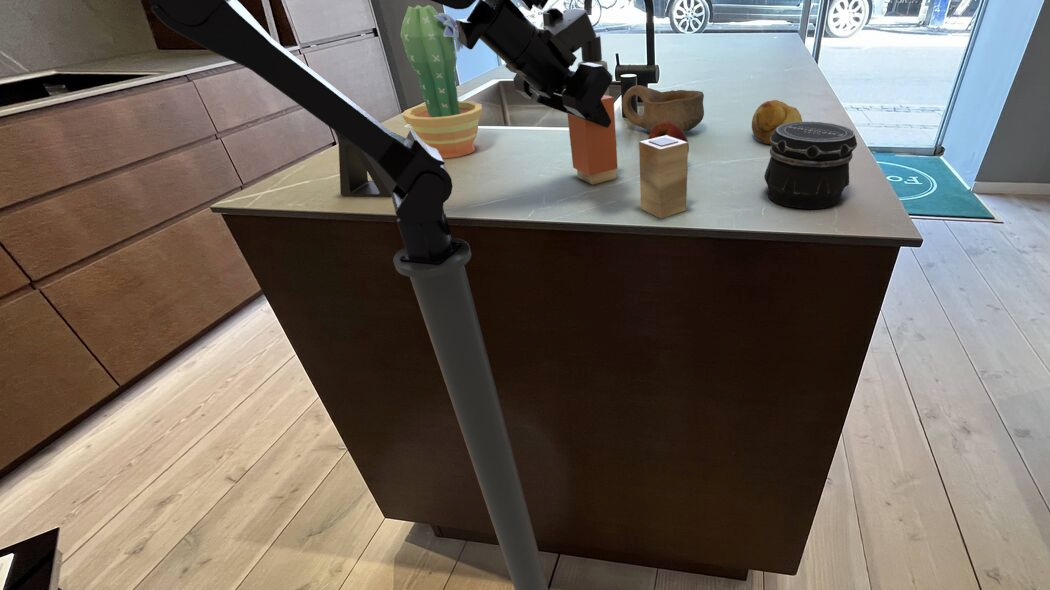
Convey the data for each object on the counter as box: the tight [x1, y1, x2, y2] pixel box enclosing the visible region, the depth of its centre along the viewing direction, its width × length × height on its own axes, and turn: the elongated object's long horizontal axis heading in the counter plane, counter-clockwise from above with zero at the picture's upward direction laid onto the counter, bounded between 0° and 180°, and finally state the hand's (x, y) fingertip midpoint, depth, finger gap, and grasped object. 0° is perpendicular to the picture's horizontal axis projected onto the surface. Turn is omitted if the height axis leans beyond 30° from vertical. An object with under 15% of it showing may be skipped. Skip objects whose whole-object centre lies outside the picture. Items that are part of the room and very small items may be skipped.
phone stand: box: [334, 131, 396, 197], centre depth 88 cm, size 9×6×12 cm, turn 84°
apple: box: [647, 122, 690, 152], centre depth 94 cm, size 7×8×8 cm
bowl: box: [621, 84, 705, 133], centre depth 113 cm, size 18×14×10 cm
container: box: [763, 121, 858, 210], centre depth 80 cm, size 13×13×10 cm
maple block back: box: [576, 169, 617, 186], centre depth 90 cm, size 5×5×10 cm
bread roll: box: [751, 99, 803, 145], centre depth 107 cm, size 13×10×8 cm
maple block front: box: [638, 135, 689, 220], centre depth 78 cm, size 5×5×10 cm
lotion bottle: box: [577, 32, 610, 96], centre depth 103 cm, size 6×6×20 cm
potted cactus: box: [399, 4, 483, 159], centre depth 101 cm, size 15×15×25 cm
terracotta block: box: [566, 95, 618, 176], centre depth 78 cm, size 5×5×10 cm
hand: (599, 121), depth 78 cm, fingers closed on terracotta block, 5 cm apart
